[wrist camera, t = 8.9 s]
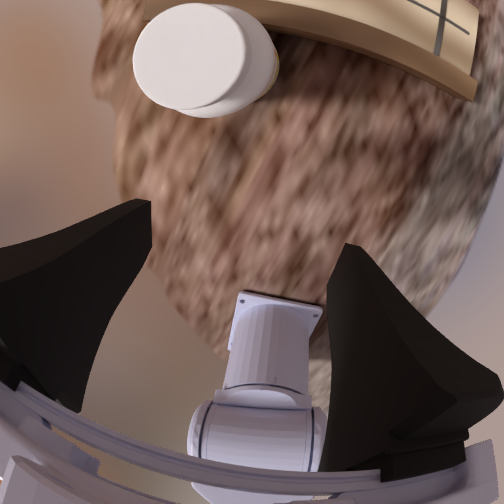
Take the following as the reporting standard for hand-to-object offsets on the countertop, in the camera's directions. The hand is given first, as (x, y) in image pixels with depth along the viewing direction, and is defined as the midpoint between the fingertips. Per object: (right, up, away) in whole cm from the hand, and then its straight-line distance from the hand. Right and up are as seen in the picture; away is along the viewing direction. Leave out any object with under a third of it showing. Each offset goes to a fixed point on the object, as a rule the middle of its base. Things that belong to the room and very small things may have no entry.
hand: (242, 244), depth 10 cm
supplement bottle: (-1, +12, +5) cm, 13 cm away
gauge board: (+5, +16, +1) cm, 17 cm away
